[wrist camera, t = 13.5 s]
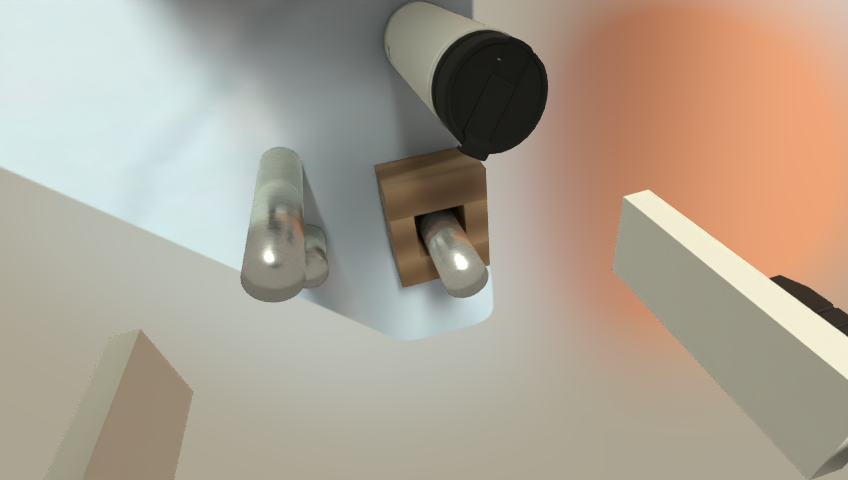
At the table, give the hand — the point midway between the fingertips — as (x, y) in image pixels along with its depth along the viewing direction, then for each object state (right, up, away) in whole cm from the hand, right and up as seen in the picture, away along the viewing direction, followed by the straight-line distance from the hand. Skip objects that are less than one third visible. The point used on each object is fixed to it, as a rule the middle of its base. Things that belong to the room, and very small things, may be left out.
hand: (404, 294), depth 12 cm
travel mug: (0, +20, +27) cm, 34 cm away
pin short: (-12, +2, +36) cm, 38 cm away
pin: (+1, +6, +37) cm, 37 cm away
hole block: (+1, +6, +37) cm, 37 cm away
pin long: (-14, +9, +30) cm, 34 cm away
